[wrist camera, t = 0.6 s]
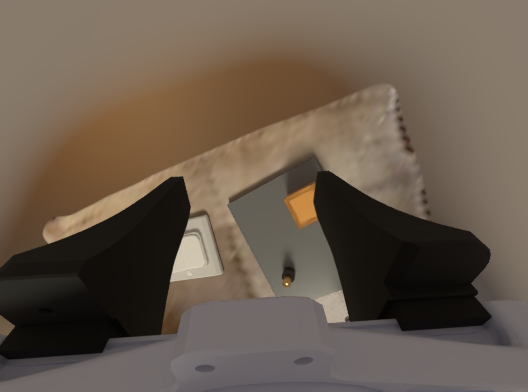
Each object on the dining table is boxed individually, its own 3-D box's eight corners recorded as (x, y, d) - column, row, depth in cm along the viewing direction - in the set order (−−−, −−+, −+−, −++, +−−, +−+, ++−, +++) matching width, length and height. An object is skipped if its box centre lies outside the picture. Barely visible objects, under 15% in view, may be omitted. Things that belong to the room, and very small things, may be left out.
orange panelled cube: (328, 208, 34) (330, 214, 29) (301, 221, 35) (299, 229, 31) (314, 181, 34) (313, 183, 29) (287, 195, 35) (283, 199, 31)
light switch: (137, 232, 40) (196, 218, 36) (154, 226, 44) (209, 213, 40) (154, 289, 41) (214, 281, 37) (169, 278, 45) (225, 270, 41)
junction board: (376, 272, 34) (378, 275, 33) (284, 307, 38) (283, 310, 37) (314, 157, 34) (314, 156, 33) (229, 203, 38) (227, 204, 37)
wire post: (297, 276, 36) (295, 287, 33) (286, 280, 37) (283, 292, 33) (291, 265, 36) (289, 275, 33) (281, 269, 37) (277, 280, 33)
